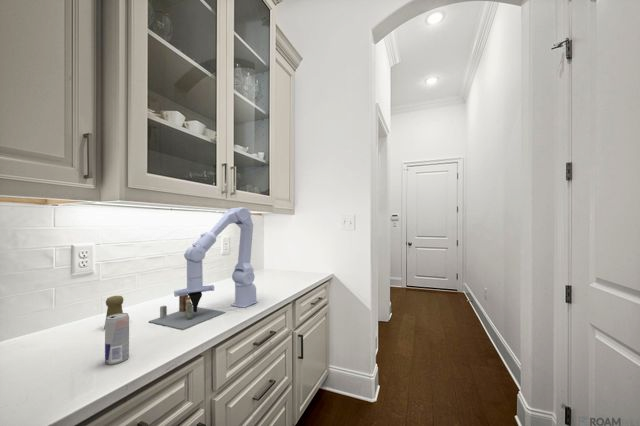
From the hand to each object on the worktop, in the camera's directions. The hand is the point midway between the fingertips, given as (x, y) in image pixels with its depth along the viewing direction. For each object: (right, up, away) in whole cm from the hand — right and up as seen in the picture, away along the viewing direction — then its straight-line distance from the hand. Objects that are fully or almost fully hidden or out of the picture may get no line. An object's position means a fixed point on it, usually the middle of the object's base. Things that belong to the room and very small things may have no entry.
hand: (195, 311), depth 111 cm
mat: (-2, -2, 0) cm, 3 cm away
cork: (-25, -3, -9) cm, 27 cm away
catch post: (-11, -2, -2) cm, 12 cm away
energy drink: (-6, -1, -34) cm, 35 cm away
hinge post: (-8, -3, +7) cm, 11 cm away
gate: (-3, -1, +1) cm, 3 cm away
